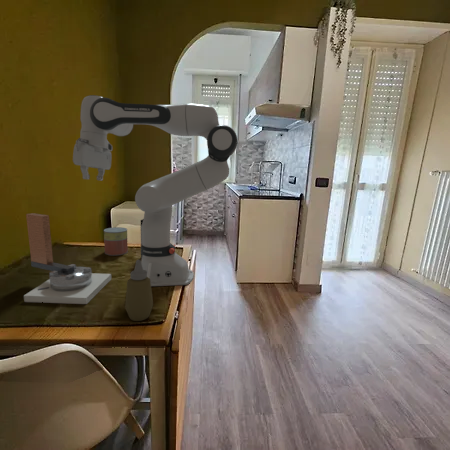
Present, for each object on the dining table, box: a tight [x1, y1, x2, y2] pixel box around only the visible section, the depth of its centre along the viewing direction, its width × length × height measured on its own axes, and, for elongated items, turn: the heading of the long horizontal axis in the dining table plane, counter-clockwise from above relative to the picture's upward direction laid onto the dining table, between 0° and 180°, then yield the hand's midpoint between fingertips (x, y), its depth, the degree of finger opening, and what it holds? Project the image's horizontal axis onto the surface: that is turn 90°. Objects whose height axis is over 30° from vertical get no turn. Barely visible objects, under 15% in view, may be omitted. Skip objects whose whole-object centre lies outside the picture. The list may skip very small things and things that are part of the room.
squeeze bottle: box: [125, 259, 154, 322], centre depth 80 cm, size 8×8×18 cm
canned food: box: [103, 226, 129, 256], centre depth 138 cm, size 11×11×12 cm
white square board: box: [23, 272, 112, 305], centre depth 96 cm, size 20×20×2 cm
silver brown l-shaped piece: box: [25, 212, 93, 291], centre depth 95 cm, size 24×13×24 cm, turn 71°
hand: (93, 179), depth 101 cm, fingers open, 8 cm apart
